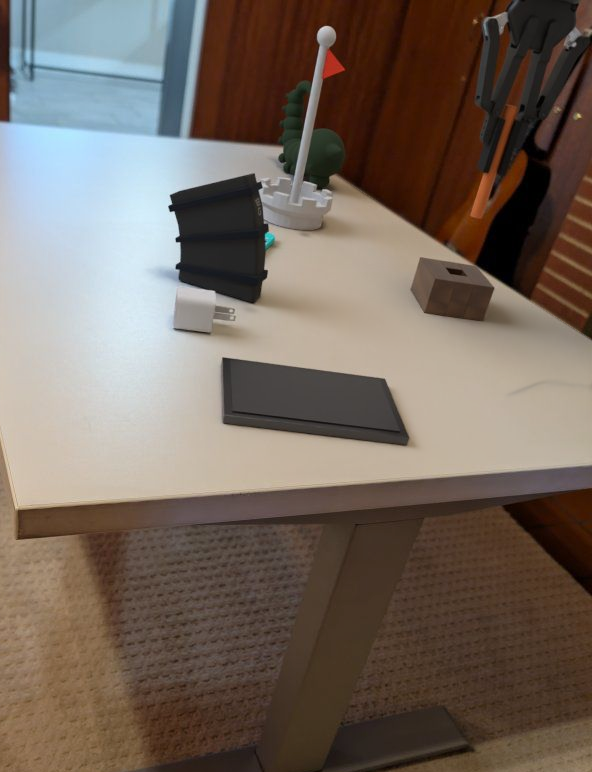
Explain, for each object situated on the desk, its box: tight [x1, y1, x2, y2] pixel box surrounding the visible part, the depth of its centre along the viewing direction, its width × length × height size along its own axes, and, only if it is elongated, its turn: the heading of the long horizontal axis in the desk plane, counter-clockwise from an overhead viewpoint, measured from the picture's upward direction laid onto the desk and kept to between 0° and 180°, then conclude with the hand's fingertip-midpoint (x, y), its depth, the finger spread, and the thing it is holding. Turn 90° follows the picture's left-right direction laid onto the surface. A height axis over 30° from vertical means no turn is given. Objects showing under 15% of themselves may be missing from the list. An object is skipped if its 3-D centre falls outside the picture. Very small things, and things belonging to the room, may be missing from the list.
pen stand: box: [410, 256, 495, 322], centre depth 107 cm, size 9×9×5 cm
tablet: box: [220, 356, 410, 446], centre depth 76 cm, size 18×12×1 cm, turn 93°
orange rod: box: [470, 104, 519, 220], centre depth 98 cm, size 2×2×14 cm
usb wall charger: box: [172, 285, 237, 334], centre depth 87 cm, size 4×7×4 cm, turn 94°
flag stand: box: [259, 25, 346, 231], centre depth 124 cm, size 13×13×30 cm
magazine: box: [167, 172, 270, 303], centre depth 96 cm, size 4×13×15 cm, turn 69°
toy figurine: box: [277, 80, 346, 189], centre depth 154 cm, size 9×19×25 cm
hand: (490, 171), depth 98 cm, fingers closed on orange rod, 1 cm apart
